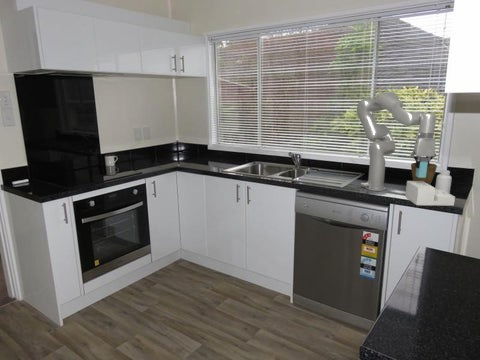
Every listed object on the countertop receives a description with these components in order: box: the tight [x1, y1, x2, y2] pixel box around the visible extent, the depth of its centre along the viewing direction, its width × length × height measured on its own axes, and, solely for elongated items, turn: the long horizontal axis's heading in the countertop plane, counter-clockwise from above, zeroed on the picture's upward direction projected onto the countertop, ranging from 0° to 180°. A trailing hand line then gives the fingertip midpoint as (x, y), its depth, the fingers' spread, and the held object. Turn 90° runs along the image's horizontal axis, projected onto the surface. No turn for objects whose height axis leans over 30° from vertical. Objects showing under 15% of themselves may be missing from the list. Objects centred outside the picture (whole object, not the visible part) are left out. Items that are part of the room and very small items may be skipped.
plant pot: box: [410, 162, 438, 185], centre depth 226 cm, size 15×15×16 cm
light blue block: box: [416, 156, 428, 178], centre depth 196 cm, size 4×4×11 cm
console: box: [405, 180, 456, 206], centre depth 199 cm, size 20×16×10 cm
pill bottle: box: [434, 169, 453, 194], centre depth 211 cm, size 8×8×15 cm
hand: (421, 167), depth 196 cm, fingers closed on light blue block, 4 cm apart
